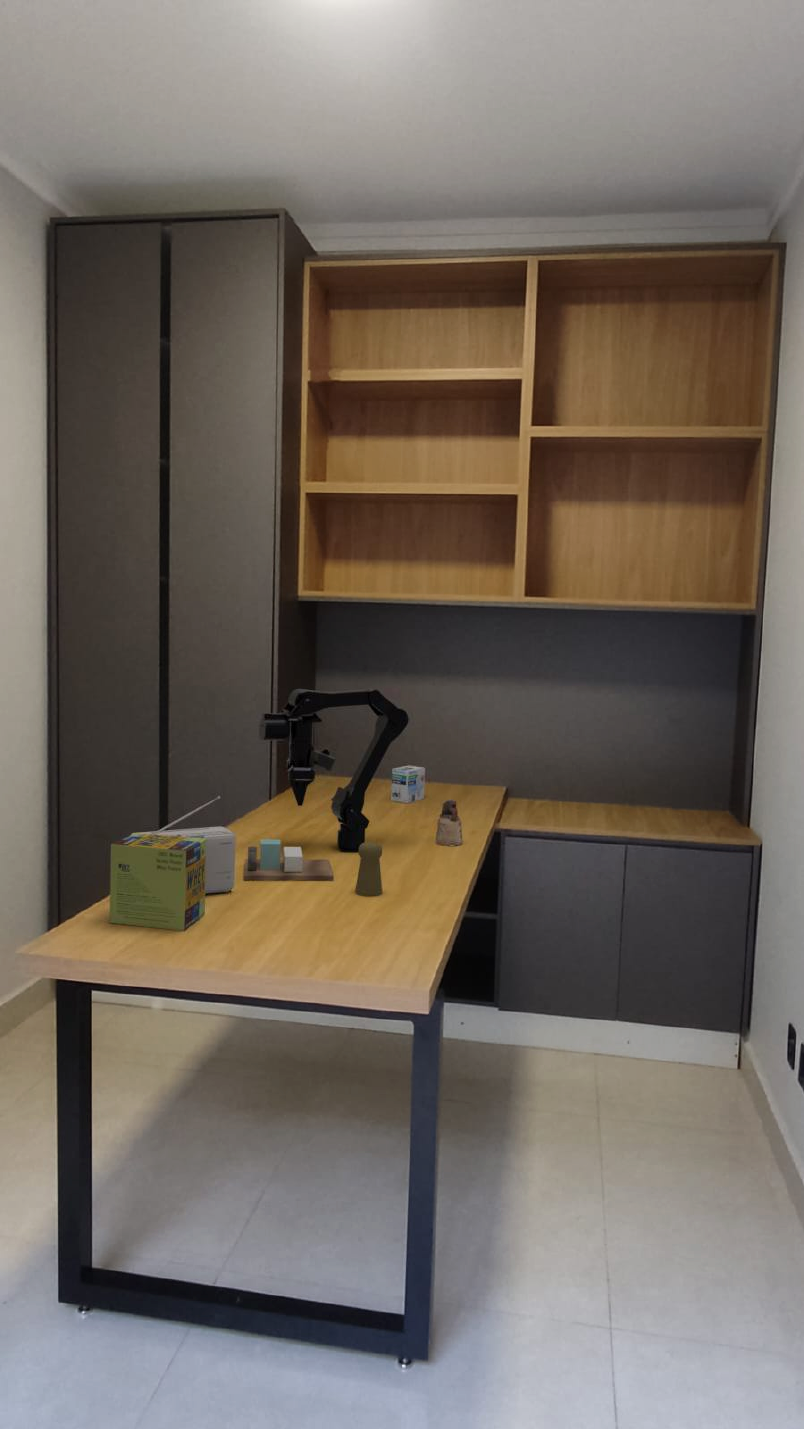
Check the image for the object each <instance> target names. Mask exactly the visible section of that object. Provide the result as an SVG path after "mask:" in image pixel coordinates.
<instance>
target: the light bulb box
mask: <svg viewBox="0 0 804 1429" xmlns="http://www.w3.org/2000/svg"><path fill="white" fill-rule="evenodd" d="M425 776H426V767H424V766H423V767H421V766H415V765H409V764H408V765H406V766H399V767H395V768H392V770H391V789H390V790H391V793H390V796H391V797H390V800H391V801H393V802H399V803H402V804H403V803H404V804H409V803H414V802H418V801H422V799H423V800H424V798H425V797H424V796H425V781H426V780H425V779H426V777H425Z"/></svg>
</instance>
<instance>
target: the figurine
mask: <svg viewBox="0 0 804 1429" xmlns="http://www.w3.org/2000/svg"><path fill="white" fill-rule="evenodd" d="M457 803H458V802H457V801H456V800H454V799H447V800H446V801H444V802H443V803H442V807H441V808H442V809H441V813H440V814H439V819H438V821H437V829H436V834H435V843H436V844H437V845H440V846H443V845H459V846H462V844H463V833H462V831H463V830H462V822H461V819H460V816H459V815H458V808H457Z"/></svg>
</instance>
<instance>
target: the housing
mask: <svg viewBox="0 0 804 1429" xmlns="http://www.w3.org/2000/svg"><path fill="white" fill-rule="evenodd" d="M301 847H302V846H283V858H282V859H283V862H284V872H302V860H303V858H304V857H303V852H302V848H301Z"/></svg>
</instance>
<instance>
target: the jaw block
mask: <svg viewBox="0 0 804 1429" xmlns="http://www.w3.org/2000/svg"><path fill="white" fill-rule="evenodd" d="M281 843H282V842H281V839H273V838H272V839H267V838H266V839H260V855H259V856H260V857H259V859H260V870H280V859H281Z"/></svg>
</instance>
